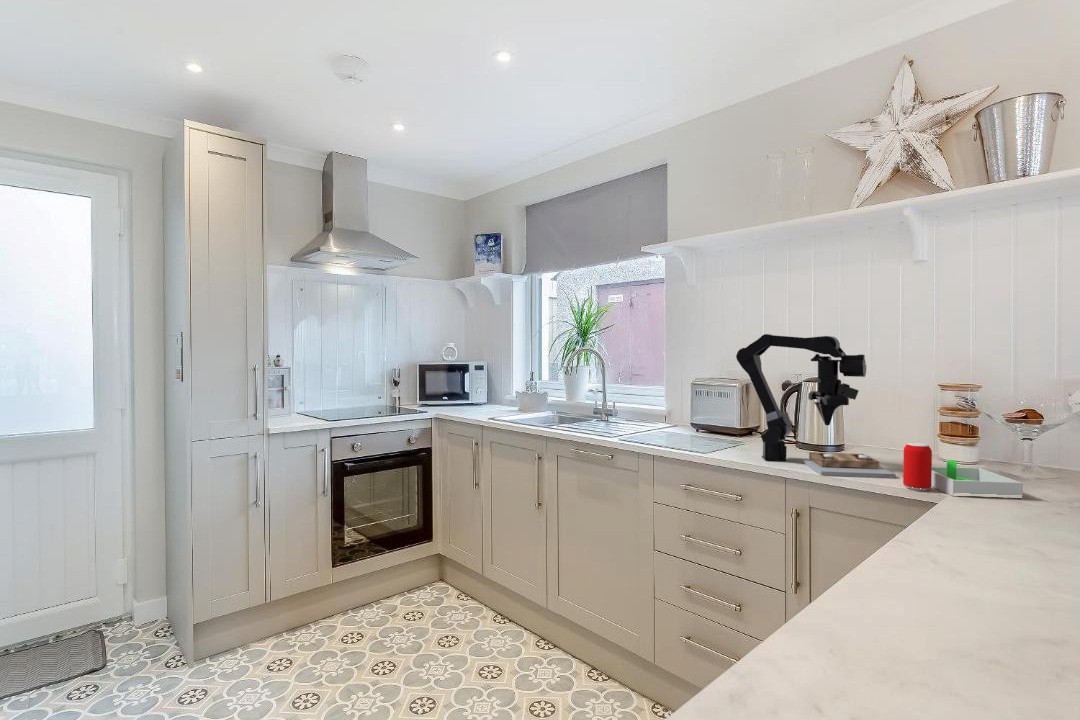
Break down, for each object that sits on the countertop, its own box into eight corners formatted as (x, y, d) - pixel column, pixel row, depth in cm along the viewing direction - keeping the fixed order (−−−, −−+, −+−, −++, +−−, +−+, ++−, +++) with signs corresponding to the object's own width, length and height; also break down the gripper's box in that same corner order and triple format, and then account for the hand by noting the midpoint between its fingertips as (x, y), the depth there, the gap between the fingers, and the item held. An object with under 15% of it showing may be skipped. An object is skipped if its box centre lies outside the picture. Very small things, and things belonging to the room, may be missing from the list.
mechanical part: (975, 495, 141) (976, 464, 140) (946, 492, 144) (947, 461, 144) (974, 486, 150) (975, 457, 150) (947, 483, 154) (947, 454, 154)
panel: (821, 466, 167) (821, 459, 167) (809, 458, 179) (809, 452, 179) (879, 468, 165) (879, 461, 165) (862, 460, 177) (862, 453, 176)
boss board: (821, 475, 162) (821, 460, 162) (802, 462, 180) (802, 449, 179) (895, 478, 158) (896, 462, 158) (869, 464, 176) (869, 450, 176)
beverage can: (927, 493, 142) (928, 446, 142) (899, 488, 147) (900, 443, 147) (934, 489, 146) (934, 444, 146) (907, 484, 151) (907, 441, 151)
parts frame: (952, 496, 139) (953, 480, 139) (918, 480, 156) (918, 466, 156) (1022, 499, 137) (1022, 483, 137) (979, 482, 154) (980, 468, 154)
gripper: (867, 377, 163) (867, 430, 164) (844, 374, 182) (843, 421, 182) (827, 377, 165) (827, 429, 166) (808, 374, 184) (807, 421, 184)
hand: (827, 425), depth 174 cm, fingers closed
